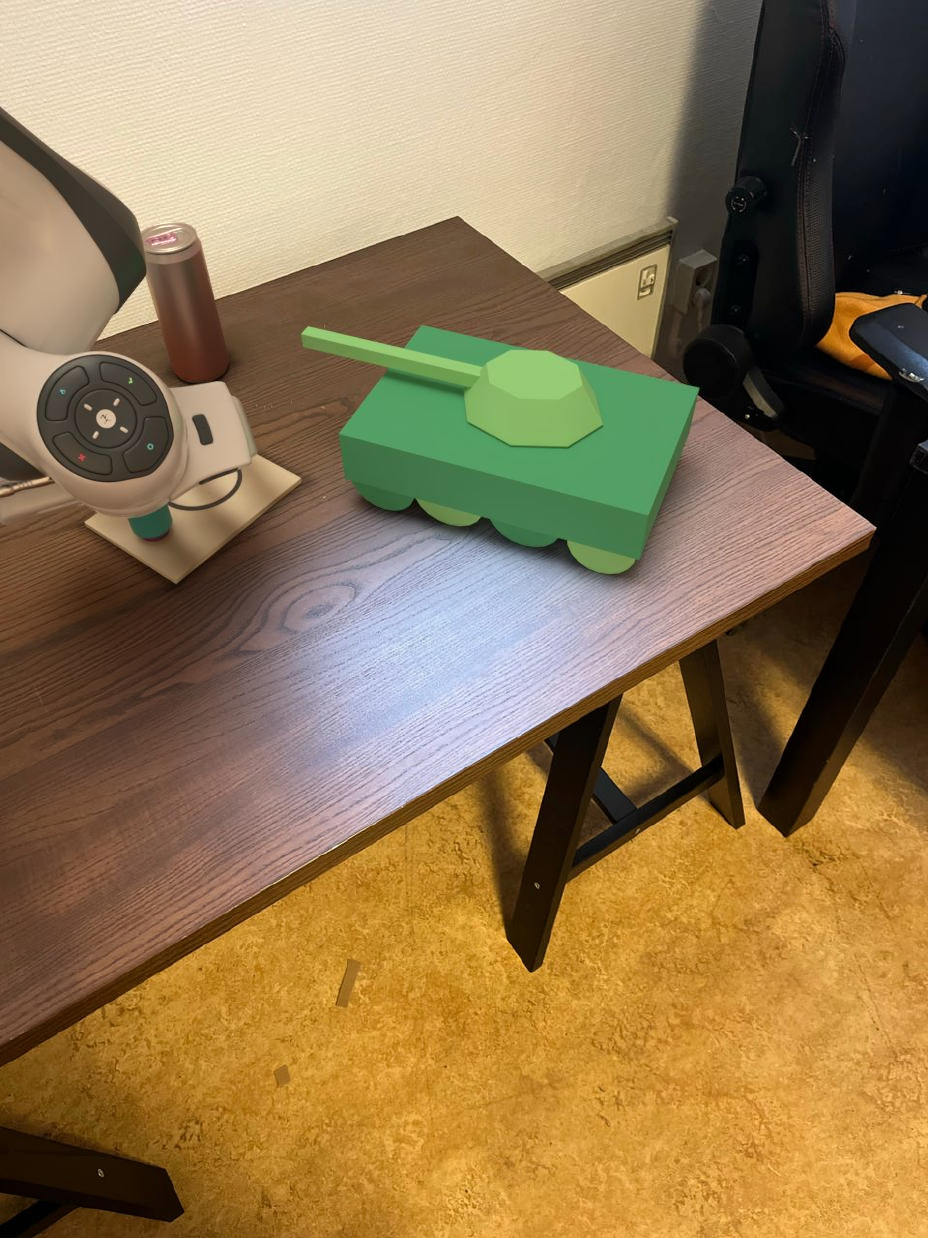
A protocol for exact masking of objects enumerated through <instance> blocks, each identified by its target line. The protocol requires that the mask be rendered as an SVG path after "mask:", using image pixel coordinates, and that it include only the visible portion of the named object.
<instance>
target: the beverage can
mask: <svg viewBox="0 0 928 1238" xmlns="http://www.w3.org/2000/svg"><path fill="white" fill-rule="evenodd" d="M140 232H141V236H142V240H143V245H144V251H145V259H146V269H147V273H146V276H145V280H146V284H147V287H148V290H149V294H150V298H151V300H152V303H153V307H154V311H155V314H156V317H157V320H158V324H159V327H160V330H161V335H162V338H163V341H164V344H165V349H166V351H167V354H168V357H169V361H170V365H171V369H172V371H173V373H174V374H175V375H176V376H177V377H178V378H179V379H181V380H183V381H184V382H186V383H190V384H200V383H210V382H214V381H215V380H217V379H219V378H220V377H222V376H223V375H224V374H225V372H227V370H228V366H229V364H230V357H229V353H228V349H227V345H226V340H225V336H224V333H223V327H222V324H221V319H220V314H219V311H218V307H217V303H216V299H215V294H214V290H213V286H212V282H211V278H210V274H209V269H208V265H207V261H206V257H205V253H204V248H203V244H202V241H201V239H200V238H199V236H198V232H197V230H196V229H195V227H193V225H190V224H188V223H185V222H180V221H166V222H160V223H156V224H153V225H151V226H148V227H146V228H145V229H143V230H142V231H140Z"/></svg>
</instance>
